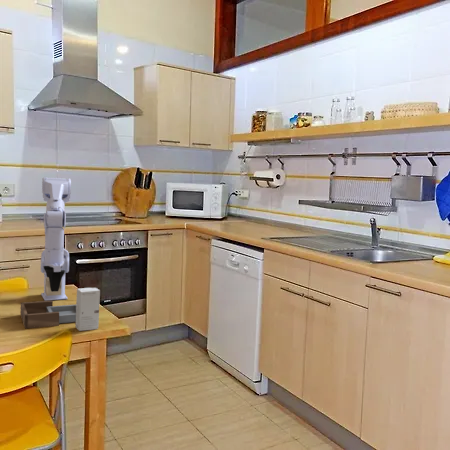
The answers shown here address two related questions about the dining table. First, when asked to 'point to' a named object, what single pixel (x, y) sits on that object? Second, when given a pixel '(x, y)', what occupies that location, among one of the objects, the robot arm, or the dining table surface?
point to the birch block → (48, 289)
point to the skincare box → (87, 308)
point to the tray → (64, 312)
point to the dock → (38, 314)
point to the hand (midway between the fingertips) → (53, 289)
